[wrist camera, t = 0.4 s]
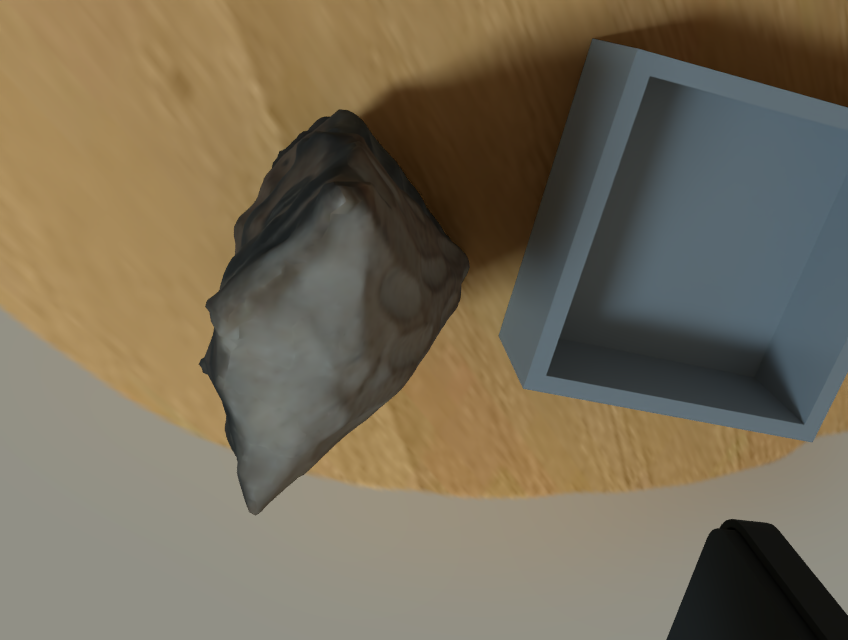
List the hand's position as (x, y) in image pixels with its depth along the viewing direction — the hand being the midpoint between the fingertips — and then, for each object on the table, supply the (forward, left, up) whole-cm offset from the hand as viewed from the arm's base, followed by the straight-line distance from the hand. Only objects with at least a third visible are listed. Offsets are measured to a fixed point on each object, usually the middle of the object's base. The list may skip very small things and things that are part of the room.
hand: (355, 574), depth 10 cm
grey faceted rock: (+7, +2, -36) cm, 37 cm away
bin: (+2, +21, -36) cm, 42 cm away
